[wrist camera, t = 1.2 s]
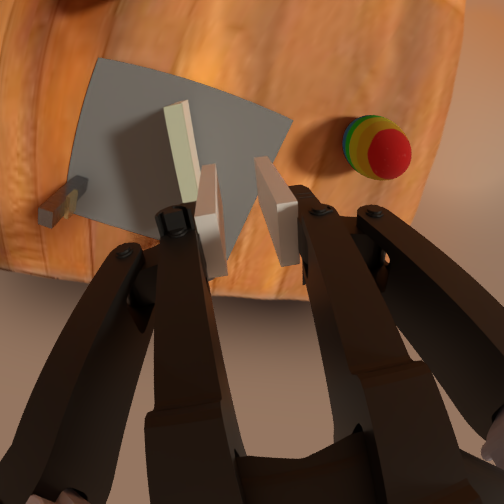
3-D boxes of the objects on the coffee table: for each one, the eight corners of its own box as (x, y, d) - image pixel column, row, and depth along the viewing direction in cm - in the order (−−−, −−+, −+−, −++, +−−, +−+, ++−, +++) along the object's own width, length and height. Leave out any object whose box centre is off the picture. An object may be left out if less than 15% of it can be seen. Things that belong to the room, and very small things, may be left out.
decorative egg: (395, 143, 36) (438, 164, 28) (357, 179, 39) (393, 208, 30) (364, 100, 32) (407, 109, 24) (322, 138, 35) (355, 157, 27)
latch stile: (75, 189, 34) (37, 226, 25) (78, 171, 33) (38, 204, 24) (90, 194, 35) (56, 233, 26) (93, 176, 34) (57, 210, 25)
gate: (210, 210, 38) (209, 247, 31) (198, 212, 38) (194, 250, 30) (190, 99, 30) (180, 103, 22) (176, 101, 30) (163, 107, 22)
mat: (64, 209, 35) (63, 210, 35) (99, 57, 25) (98, 57, 25) (227, 259, 43) (227, 260, 43) (292, 120, 33) (293, 120, 33)
